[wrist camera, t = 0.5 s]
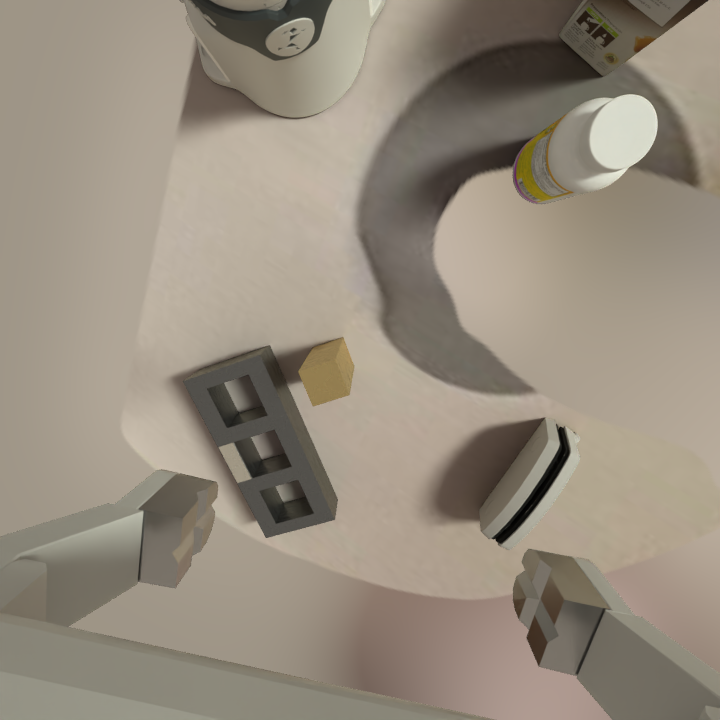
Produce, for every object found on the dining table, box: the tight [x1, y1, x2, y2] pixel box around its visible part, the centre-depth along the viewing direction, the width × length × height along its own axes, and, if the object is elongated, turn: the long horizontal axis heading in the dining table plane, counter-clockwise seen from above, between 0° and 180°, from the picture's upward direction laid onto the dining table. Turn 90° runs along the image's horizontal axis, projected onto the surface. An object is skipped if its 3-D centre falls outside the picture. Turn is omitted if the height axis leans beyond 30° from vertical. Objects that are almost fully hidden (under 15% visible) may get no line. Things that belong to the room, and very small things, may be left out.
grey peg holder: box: [183, 346, 338, 538], centre depth 46 cm, size 24×10×4 cm, turn 20°
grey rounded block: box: [479, 418, 580, 550], centre depth 44 cm, size 17×5×10 cm, turn 155°
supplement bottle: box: [513, 94, 658, 204], centre depth 31 cm, size 7×7×13 cm
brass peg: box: [298, 337, 354, 406], centre depth 40 cm, size 4×4×9 cm
